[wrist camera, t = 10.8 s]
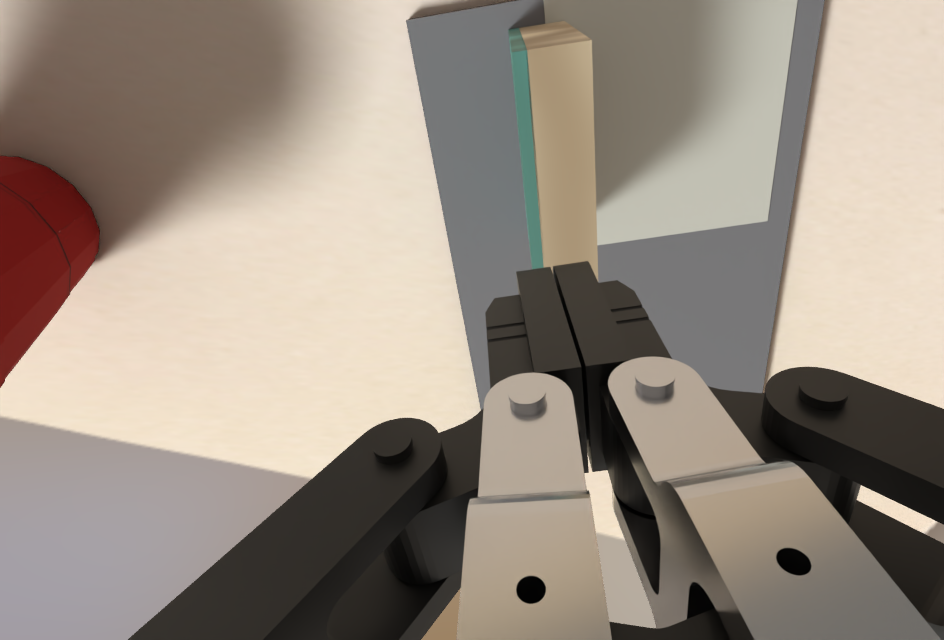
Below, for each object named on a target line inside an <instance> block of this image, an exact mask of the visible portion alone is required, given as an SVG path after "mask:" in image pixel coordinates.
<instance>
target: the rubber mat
mask: <svg viewBox="0 0 944 640" xmlns="http://www.w3.org/2000/svg"><path fill="white" fill-rule="evenodd" d="M824 1H825V0H515V1H509V2H504V3H498V4H493V5H487V6H481V7H476V8H470V9H465V10H459V11H453V12H448V13H442V14H437V15H431V16H425V17H420V18H414V19H409V20H406V22H407V28H408V33H409V38H410V43H411V48H412V54H413V59H414V64H415V69H416V74H417V80H418V85H419V90H420V95H421V100H422V106H423V111H424V116H425V121H426V126H427V132H428V137H429V142H430V147H431V153H432V158H433V163H434V168H435V173H436V179H437V184H438V189H439V194H440V199H441V205H442V210H443V215H444V220H445V225H446V231H447V236H448V241H449V246H450V251H451V257H452V262H453V267H454V272H455V277H456V283H457V288H458V293H459V298H460V304H461V309H462V314H463V319H464V324H465V330H466V335H467V340H468V345H469V350H470V356H471V361H472V366H473V371H474V376H475V382H476V387H477V392H478V397H479V402H480V408H481V410H482V409H483V408H484V401H485V397H486V395H487V393H488V392H489V391H490V375H489V360H488V346H487V343H488V342H487V331H486V330H487V329H486V316H485V312H486V311H487V309H488V307H489V306H490V304H491V303H492V301H493V300H494V298H499V297H506V296H512V295H519V293H518V285H517V277H516V272H517V271H524V270H531V269H532V264H531V255H530V246H529V237H528V228H527V217H526V207H525V197H524V187H523V176H522V166H521V156H520V146H519V135H518V125H517V115H516V105H515V94H514V84H513V74H512V64H511V53H510V43H509V33H508V30H509V29H515V28H522V27H528V26H534V25H541V24H547V23H553V22H559V21H566V22H567V23H568V24H570V25H571V26H573V27H574V28H575V29H577V30H578V31H580V32H581V33H583V34H584V35H585V36H587V37H588V38H590V39H591V40H592V63H593V101H594V138H595V176H596V214H597V251H598V283H601V282H608V281H615V280H618V281H619V282H621V283H623V284H624V285H626V286H627V287H629V288H631V289H632V290H634V291H635V293H636V295H637V297H638V298H639V300H640V302H641V304H642V307H643V308H644V309H645V311H646V313H647V314H648V316H649V320H651V322H652V323H653V325H654V327H655V329H656V331H657V332H658V334H659V336H660V338H661V340H662V341H663V343H664V345H665V347H666V349H667V350H668V352H669V354H670V356H671V358H672V359H673V360H677V361H679V362H682V363H684V364H686V365H688V366H689V367H691V368H692V369H694V370H695V371H696V372H697V373H698V374H699V376H700V377H701V378H702V380H703V381H704V382H705V384H706V385H707V386H709V387H713V388H717V389H722V390H730V391H742V392H754V393H762V392H763V386H764V380H765V373H766V367H767V361H768V355H769V348H770V342H771V336H772V329H773V323H774V317H775V310H776V304H777V298H778V291H779V285H780V279H781V272H782V266H783V260H784V254H785V247H786V241H787V235H788V228H789V222H790V216H791V209H792V203H793V197H794V190H795V184H796V178H797V172H798V165H799V159H800V153H801V146H802V140H803V134H804V127H805V121H806V115H807V108H808V102H809V96H810V89H811V83H812V77H813V71H814V64H815V58H816V52H817V45H818V39H819V33H820V26H821V20H822V14H823V7H824Z"/></svg>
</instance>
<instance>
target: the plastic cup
mask: <svg viewBox="0 0 944 640" xmlns="http://www.w3.org/2000/svg"><path fill="white" fill-rule="evenodd" d="M99 235H100V230H99V228H98V225H97V222H96V220H95V217H94V214H93V212H92V209H91V207H90V206H89V205H88V203H87V202H86V201H85V200H84V198H83V197H82V196H81V195H80V194H79V192H78V191H77V190H76V189H75V187H74V186H73V185H72V184H70V183H69V182H68V181H66V180H65V179H63V178H62V177H61V176H59V175H58V174H56V173H55V172H54V171H52V170H51V169H49V168H48V167H46V166H43V165H40V164H37V163H35V162H32V161H29V160H26V159H23V158H20V157H7V156H0V387H1V386H2V385H3V383H4V382H5V378H6V377H7V376H8V374H9V373H10V372H11V371H12V369H13V368H14V367H15V365H16V364H17V363H18V362H19V360H20V359H21V358H22V357H23V355H24V354H25V353H26V351H27V350H28V349H29V348H30V346H31V345H32V344H33V342H34V341H35V340H36V339H37V337H38V336H39V335H40V334H41V332H42V331H43V330H44V328H45V327H46V326H47V325H48V323H49V322H50V321H51V320H52V318H53V317H54V316H55V314H56V313H57V312H58V310H59V309H60V307H61V306H62V305H63V303H64V302H65V300H66V299H67V298H68V296H69V295H70V292H71V291H72V289H73V288H74V287H75V286H76V285H77V283H78V282H79V281H80V280H81V278H82V277H83V276H84V274H85V273H86V272H87V270H88V269H89V267H90V266H91V265H92V263H93V262H94V260H95V256H96V254H97V253H98V250H99Z"/></svg>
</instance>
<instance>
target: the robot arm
mask: <svg viewBox="0 0 944 640" xmlns="http://www.w3.org/2000/svg"><path fill="white" fill-rule="evenodd" d="M516 277H517V285H518V293H519V295H512V296H506V297H499V298H494V300H493V301H492V303H491V304H490V306H489V307H488V309H487V311H486V312H485V316H486V329H487V330H486V331H487V342H488V343H487V346H488V360H489V375H490V391H489V392H488V393H487V395H486V397H485V401H484V408H483V409H482V410H481V411H480V412H479V413H478V414H477V415H476V416H474V417H473V418H472V419H470V420H468V421H467V422H465V423H463V424H461V425H458V426H456V427H454V428H451V429H448V430H446V431H443V432H441V433H438V431H437V430H436V429H435V428H434V427H433V426H432V425H431V424H429V423H427V422H426V421H423V420H420V419H415V418H399V419H394V420H389V421H386V422H383V423H381V424H379V425H377V426H375V427H373V428H371V429H370V430H368V431H367V432H366V433H364V434H363V435H362V436H361V437H360V438H358V439H357V440H356V441H355V442H354V443H353V444H352V445H350V446H349V447H348V448H347V449H346V450H345V451H343V452H342V453H341V454H340V455H339V456H338V457H337V458H335V459H334V460H333V461H332V462H331V463H330V464H329V465H327V466H326V467H325V468H324V469H323V470H322V471H321V472H319V473H318V474H317V475H316V476H315V477H314V478H313V479H311V480H310V481H309V482H308V483H307V484H306V485H305V486H303V487H302V488H301V489H300V490H299V491H298V492H296V493H295V494H294V495H293V496H292V497H291V498H290V499H288V500H287V501H286V502H285V503H284V504H283V505H282V506H280V507H279V508H278V509H277V510H276V511H275V512H274V513H272V514H271V515H270V516H269V517H268V518H267V519H266V520H264V521H263V522H262V523H261V524H260V525H259V526H257V527H256V528H255V529H254V530H253V531H252V532H251V533H249V534H248V535H247V536H246V537H245V538H244V539H243V540H241V541H240V542H239V543H238V544H237V545H236V546H235V547H233V548H232V549H231V550H230V551H229V552H228V553H227V554H225V555H224V556H223V557H222V558H221V559H220V560H218V561H217V562H216V563H215V564H214V565H213V566H212V567H210V568H209V569H208V570H207V571H206V572H205V573H204V574H202V575H201V576H200V577H199V578H198V579H197V580H196V581H194V583H192V584H191V585H190V586H189V587H187V588H186V589H185V590H184V591H183V592H182V593H181V594H180V595H178V596H177V597H176V598H175V599H174V600H173V601H171V602H170V603H169V604H168V605H167V606H166V607H165V608H164V609H162V610H161V611H160V612H159V613H158V614H157V615H155V616H154V617H153V618H152V619H151V620H150V621H148V622H147V623H146V624H145V625H144V626H143V627H142V628H140V629H139V630H138V631H137V632H136V633H135V634H134V635H132V636H131V637H130V638H129V639H128V640H421V639H422V638H423V636H424V635H425V634H426V632H427V631H428V630H429V628H430V627H431V626H432V625H433V623H434V622H435V621H436V619H437V618H438V617H439V615H440V614H441V613H442V611H443V610H444V609H445V607H446V606H447V605H448V603H449V602H450V601H451V600H452V598H453V597H454V595H455V594H456V593H457V592H458V590H459V589H460V588H461V592H460V604H459V616H458V629H457V640H944V544H943V543H941V542H939V541H937V540H935V539H933V538H931V537H929V536H927V535H925V534H923V533H921V532H919V531H917V530H915V529H913V528H911V527H909V526H907V525H905V524H903V523H901V522H899V521H897V520H895V519H893V518H891V517H889V516H887V515H885V514H883V513H881V512H879V511H877V510H875V509H873V508H871V507H869V506H867V505H865V504H863V503H861V502H859V501H857V500H856V499H857V496H858V493H859V489H860V486H861V485H862V486H864V487H866V488H869V489H871V490H873V491H875V492H877V493H879V494H881V495H883V496H885V497H887V498H889V499H892V500H894V501H896V502H898V503H900V504H902V505H904V506H906V507H908V508H910V509H912V510H914V511H917V512H919V513H921V514H923V515H925V516H927V517H929V518H931V519H933V520H935V521H937V522H940V523H942V524H944V409H942V408H940V407H937V406H934V405H931V404H928V403H926V402H923V401H920V400H917V399H914V398H912V397H909V396H906V395H903V394H900V393H898V392H895V391H892V390H889V389H886V388H884V387H881V386H878V385H875V384H872V383H870V382H867V381H864V380H861V379H858V378H856V377H853V376H850V375H847V374H844V373H841V372H838V371H835V370H830V369H825V368H818V367H797V368H791V369H787V370H784V371H781V372H779V373H777V374H775V375H774V376H773V377H771V378H770V380H769V381H768V382H767V385H766V388H765V393H754V392H742V391H730V390H722V389H717V388H713V387H709V386H707V385H706V384H705V382H704V381H703V380H702V378H701V377H700V376H699V374H698V373H697V372H696V371H695V370H694V369H692V368H691V367H689V366H688V365H686V364H684V363H682V362H679V361H677V360H673V359H672V358H671V356H670V354H669V352H668V350H667V349H666V347H665V345H664V343H663V341H662V340H661V338H660V336H659V334H658V332H657V331H656V329H655V327H654V325H653V323H652V322H651V320H649V316H648V314H647V313H646V311H645V309H644V308H643V307H642V304H641V302H640V300H639V298H638V297H637V295H636V293H635V291H634V290H632V289H631V288H629V287H627V286H626V285H624V284H623V283H621V282H619V281H618V280H615V281H608V282H601V283H598V281H597V279H596V276H595V274H594V272H593V270H592V268H591V265H590V263H589V262H588V261H584V262H577V263H570V264H564V265H557V266H553V273H552V270H551V267H544V268H537V269H531V270H524V271H517V272H516ZM587 453H588V456H589V460H590V464H591V468H592V471H593V472H595V471H603V470H608V473H609V476H610V480H611V483H612V500H613V508H614V512H615V514H616V517H617V520H618V522H619V525H620V528H621V530H622V533H623V535H624V538H625V541H626V543H627V546H628V548H629V551H630V553H631V556H632V559H633V562H634V564H635V567H636V569H637V572H638V575H639V577H640V580H641V583H642V585H643V587H644V590H645V593H646V596H647V598H648V601H649V604H650V606H651V609H652V613H653V615H654V620H655V624H656V628H646V627H639V626H633V625H627V624H620V623H614V622H609V617H608V611H607V603H606V597H605V590H604V584H603V577H602V570H601V564H600V557H599V551H598V544H597V538H596V531H595V524H594V518H593V511H592V505H591V499H590V494H589V491H587V488H586V482H585V475H584V473H589V471H588V457H587Z"/></svg>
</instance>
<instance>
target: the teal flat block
mask: <svg viewBox="0 0 944 640" xmlns="http://www.w3.org/2000/svg"><path fill="white" fill-rule="evenodd" d="M508 33H509V43H510V53H511V64H512V74H513V84H514V94H515V105H516V115H517V125H518V135H519V146H520V156H521V166H522V176H523V187H524V197H525V207H526V217H527V228H528V237H529V246H530V255H531V264H532V269H537V268H544V267H551V270H552V273H553V266H557V265H564V264H570V263H577V262H584V261H588V262H589V263H590V265H591V268H592V270H593V272H594V274H595V276H596V279H597V281H598V251H597V214H596V176H595V138H594V101H593V63H592V40H591V39H590V38H588V37H587V36H585V35H584V34H583V33H581V32H580V31H578V30H577V29H575V28H574V27H573V26H571V25H570V24H568V23H567V22H566V21H559V22H553V23H547V24H541V25H534V26H528V27H522V28H515V29H509V30H508Z"/></svg>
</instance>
